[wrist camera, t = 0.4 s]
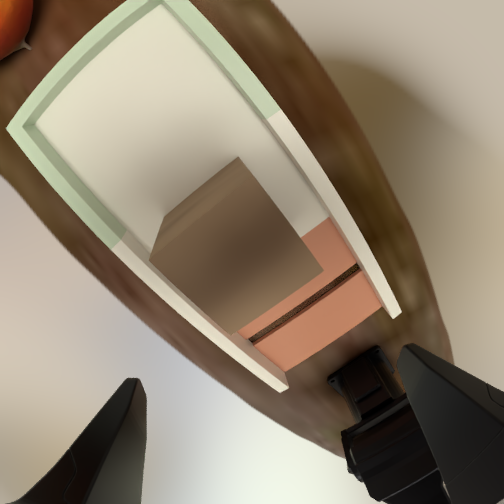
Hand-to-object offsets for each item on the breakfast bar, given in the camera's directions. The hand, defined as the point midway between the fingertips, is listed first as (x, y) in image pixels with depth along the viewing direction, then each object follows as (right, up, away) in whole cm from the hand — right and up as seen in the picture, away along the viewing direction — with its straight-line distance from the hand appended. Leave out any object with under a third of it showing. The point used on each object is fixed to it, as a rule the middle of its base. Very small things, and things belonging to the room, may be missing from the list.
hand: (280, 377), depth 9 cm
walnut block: (-2, +6, +10) cm, 12 cm away
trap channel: (-2, +6, +12) cm, 13 cm away
